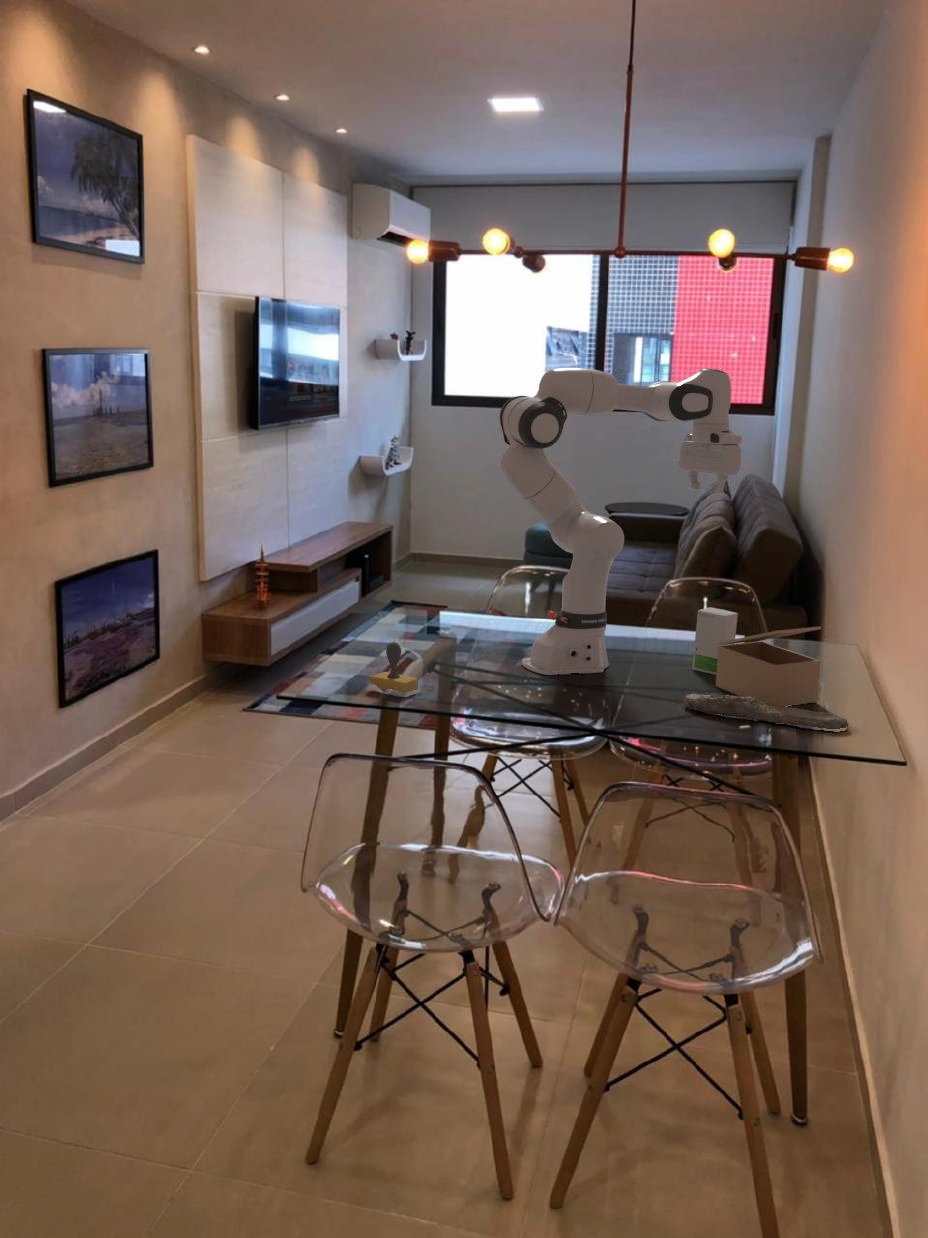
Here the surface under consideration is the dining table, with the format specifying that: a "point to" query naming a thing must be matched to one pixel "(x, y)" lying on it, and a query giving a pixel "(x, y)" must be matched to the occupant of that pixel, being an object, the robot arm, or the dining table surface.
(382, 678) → the rubber stamp
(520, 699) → the dining table surface
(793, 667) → the carton
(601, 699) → the dining table surface
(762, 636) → the lid flap
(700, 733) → the dining table surface
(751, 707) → the long grey stone
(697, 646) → the skincare box
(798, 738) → the dining table surface
